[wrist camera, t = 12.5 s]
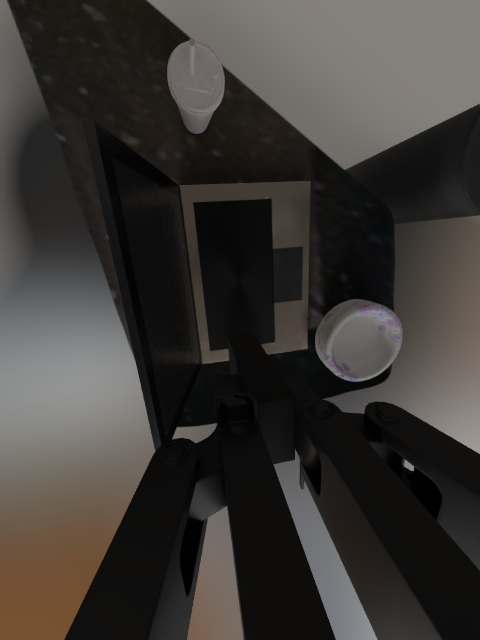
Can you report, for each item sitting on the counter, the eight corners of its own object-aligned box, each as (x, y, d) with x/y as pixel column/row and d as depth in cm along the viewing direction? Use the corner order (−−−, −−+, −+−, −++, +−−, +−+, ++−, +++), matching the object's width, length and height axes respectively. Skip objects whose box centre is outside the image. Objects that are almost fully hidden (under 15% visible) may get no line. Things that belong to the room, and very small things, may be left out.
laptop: (305, 183, 42) (310, 180, 40) (303, 345, 51) (307, 348, 49) (180, 187, 38) (179, 185, 37) (202, 359, 48) (202, 364, 46)
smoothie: (187, 81, 35) (183, -19, 22) (225, 114, 37) (243, 41, 24) (165, 124, 36) (149, 54, 23) (203, 154, 38) (209, 105, 25)
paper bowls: (297, 357, 51) (315, 376, 44) (323, 287, 48) (347, 295, 40) (357, 369, 55) (383, 388, 48) (385, 305, 52) (417, 315, 44)
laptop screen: (95, 119, 17) (82, 120, 17) (165, 459, 26) (156, 459, 26) (179, 185, 37) (173, 185, 37) (202, 364, 46) (197, 364, 46)
